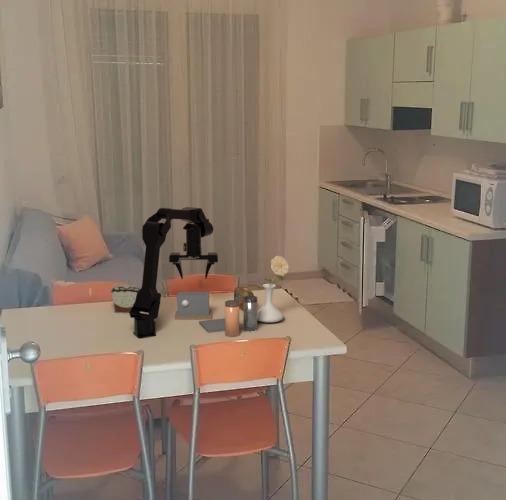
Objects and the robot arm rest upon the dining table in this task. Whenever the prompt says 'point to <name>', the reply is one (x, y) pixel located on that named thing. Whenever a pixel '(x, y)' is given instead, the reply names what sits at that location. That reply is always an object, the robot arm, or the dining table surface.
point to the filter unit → (193, 306)
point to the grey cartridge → (250, 313)
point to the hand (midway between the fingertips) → (194, 278)
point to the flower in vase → (269, 310)
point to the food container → (124, 297)
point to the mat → (213, 325)
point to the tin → (241, 295)
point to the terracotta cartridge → (232, 318)
